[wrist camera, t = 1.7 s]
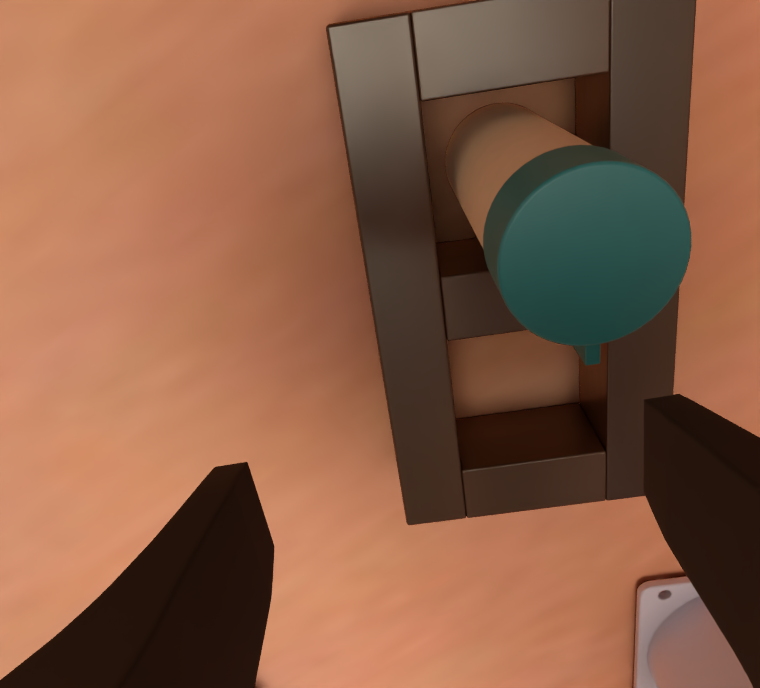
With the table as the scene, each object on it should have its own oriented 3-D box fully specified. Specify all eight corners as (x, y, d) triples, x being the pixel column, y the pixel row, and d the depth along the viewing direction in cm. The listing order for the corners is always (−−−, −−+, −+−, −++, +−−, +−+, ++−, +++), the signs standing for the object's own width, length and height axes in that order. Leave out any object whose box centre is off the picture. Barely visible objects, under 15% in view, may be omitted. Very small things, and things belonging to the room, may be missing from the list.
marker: (553, 90, 19) (700, 146, 11) (557, 221, 21) (686, 355, 12) (435, 108, 19) (490, 177, 11) (448, 236, 21) (505, 380, 13)
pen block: (648, -28, 18) (699, -36, 15) (634, 440, 24) (667, 493, 22) (330, 23, 18) (325, 24, 15) (402, 471, 25) (407, 526, 22)
